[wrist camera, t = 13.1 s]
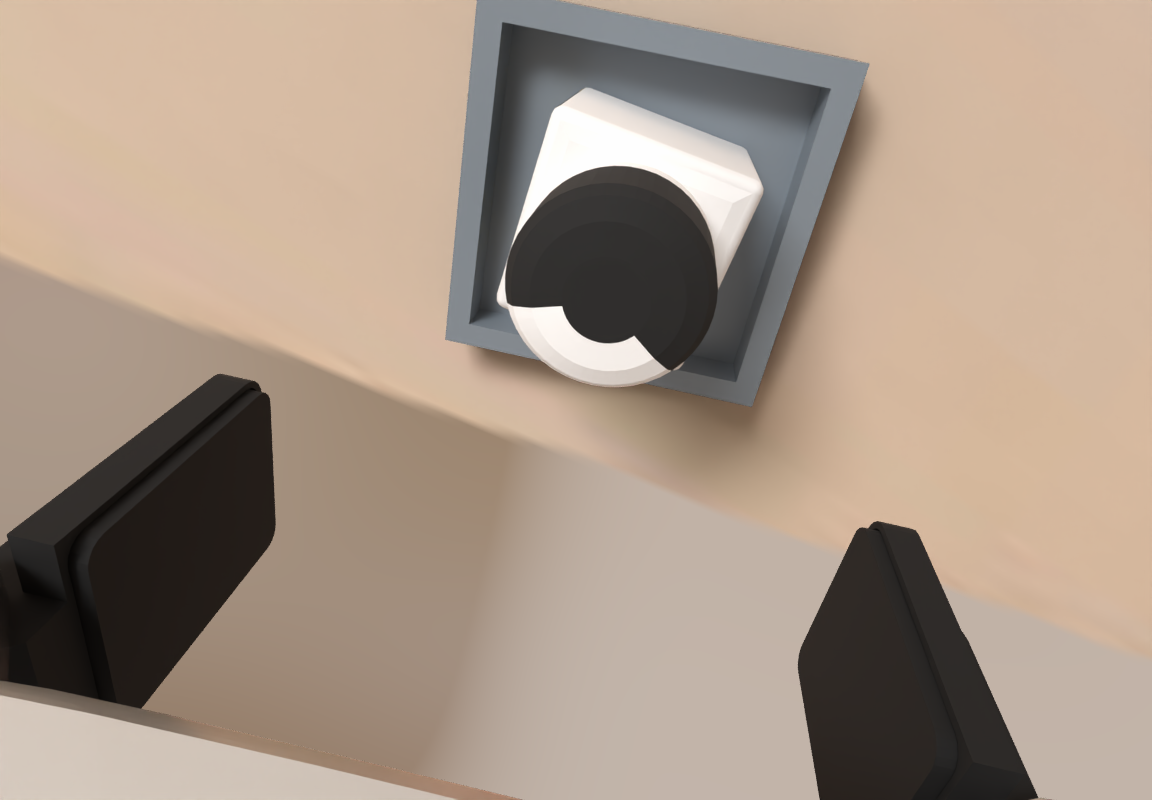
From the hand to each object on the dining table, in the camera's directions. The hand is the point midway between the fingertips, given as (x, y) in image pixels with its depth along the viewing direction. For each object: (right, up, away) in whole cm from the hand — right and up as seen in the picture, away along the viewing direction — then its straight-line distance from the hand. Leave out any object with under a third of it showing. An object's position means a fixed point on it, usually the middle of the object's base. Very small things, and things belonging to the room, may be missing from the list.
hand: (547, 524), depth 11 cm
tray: (+3, +10, +19) cm, 22 cm away
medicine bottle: (+3, +10, +19) cm, 22 cm away
